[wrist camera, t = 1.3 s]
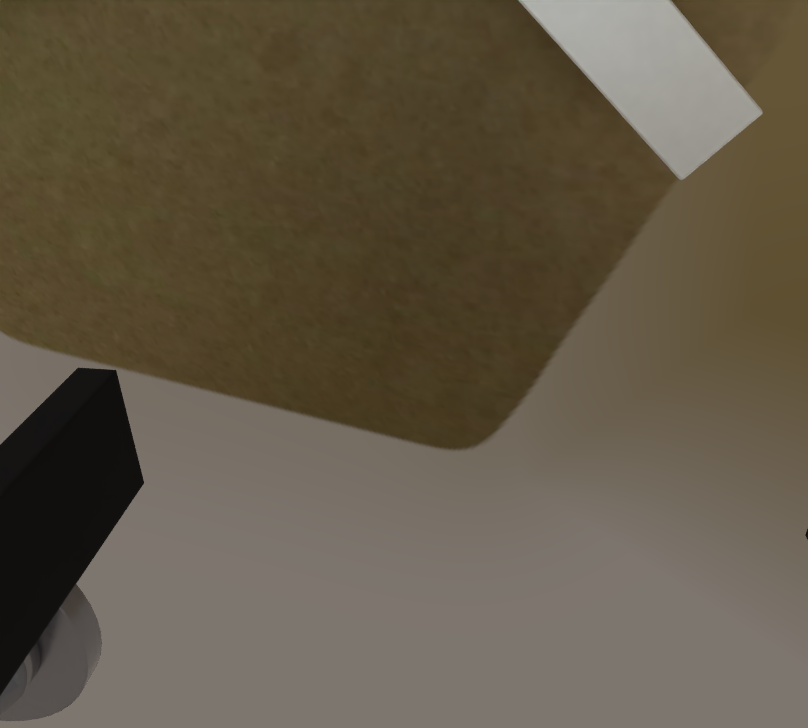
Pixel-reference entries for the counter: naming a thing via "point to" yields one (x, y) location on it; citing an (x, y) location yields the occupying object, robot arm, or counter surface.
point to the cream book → (652, 74)
